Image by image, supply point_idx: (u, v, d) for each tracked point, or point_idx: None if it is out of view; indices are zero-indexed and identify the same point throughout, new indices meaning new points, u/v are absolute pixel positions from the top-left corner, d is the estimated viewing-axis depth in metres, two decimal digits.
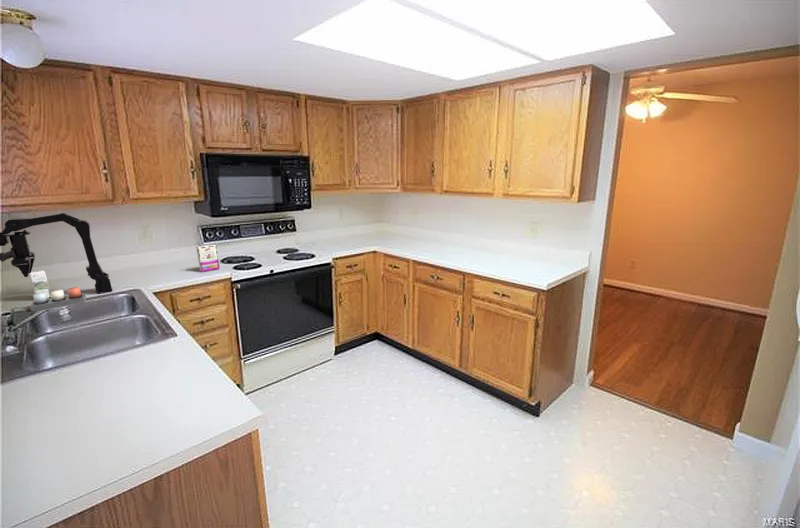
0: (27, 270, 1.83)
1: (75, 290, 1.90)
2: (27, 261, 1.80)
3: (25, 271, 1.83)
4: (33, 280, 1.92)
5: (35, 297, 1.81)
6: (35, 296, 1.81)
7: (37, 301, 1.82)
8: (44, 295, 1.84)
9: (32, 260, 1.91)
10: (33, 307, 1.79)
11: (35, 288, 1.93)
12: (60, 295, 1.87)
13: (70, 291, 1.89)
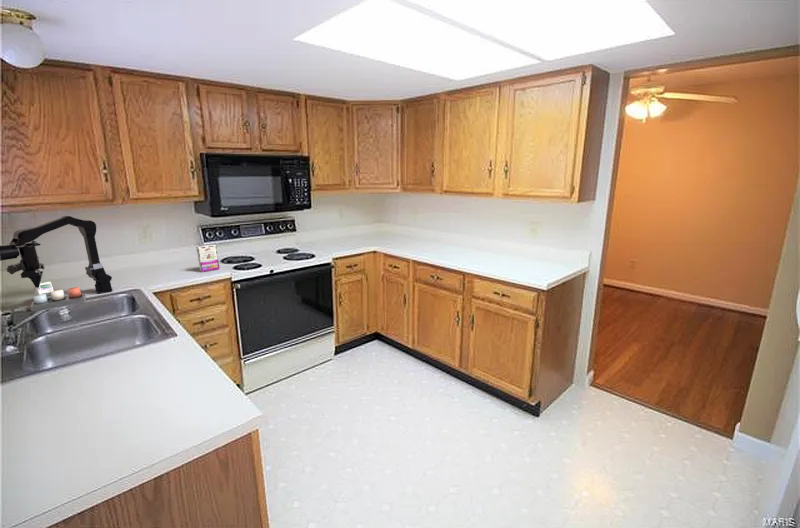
0: (38, 280, 1.81)
1: (75, 290, 1.90)
2: (37, 274, 1.75)
3: (36, 281, 1.81)
4: None
5: (35, 299, 1.82)
6: (35, 298, 1.81)
7: (37, 303, 1.82)
8: (44, 297, 1.84)
9: (40, 274, 1.83)
10: (33, 307, 1.79)
11: None
12: (60, 295, 1.87)
13: (70, 291, 1.89)
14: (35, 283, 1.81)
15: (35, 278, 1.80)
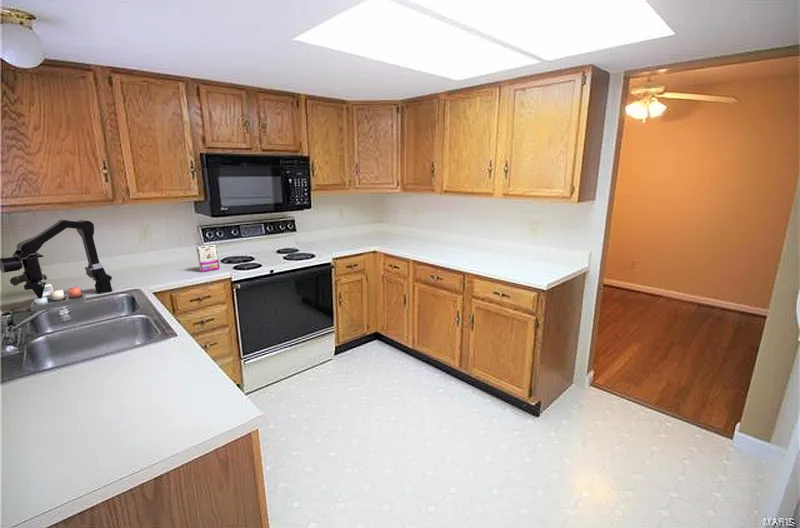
0: (41, 292, 1.83)
1: (75, 290, 1.90)
2: (40, 285, 1.76)
3: (39, 293, 1.82)
4: None
5: (36, 302, 1.82)
6: (36, 301, 1.82)
7: None
8: (45, 299, 1.84)
9: None
10: (33, 307, 1.79)
11: None
12: (60, 295, 1.87)
13: (70, 291, 1.89)
14: (38, 294, 1.82)
15: (38, 289, 1.82)
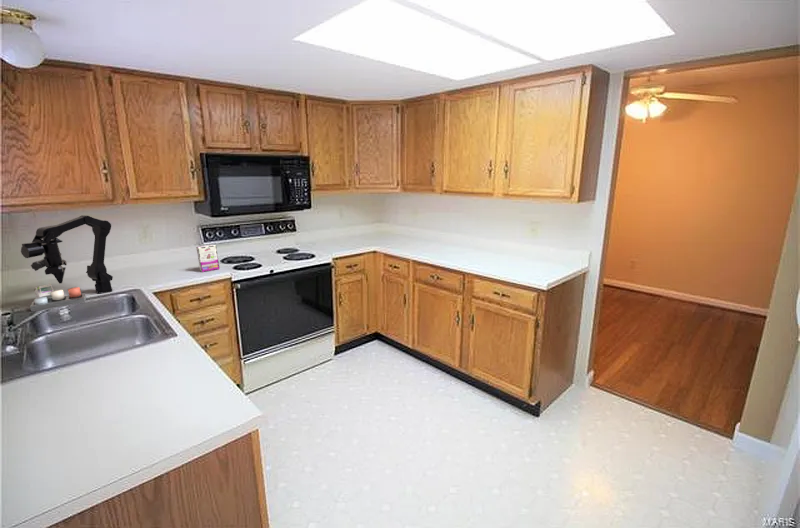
0: (61, 276, 1.86)
1: (75, 290, 1.90)
2: (60, 270, 1.80)
3: (59, 277, 1.86)
4: None
5: (36, 302, 1.82)
6: (36, 301, 1.82)
7: None
8: (45, 300, 1.84)
9: None
10: (33, 307, 1.79)
11: None
12: (60, 295, 1.87)
13: (70, 291, 1.89)
14: (58, 279, 1.86)
15: (58, 274, 1.85)
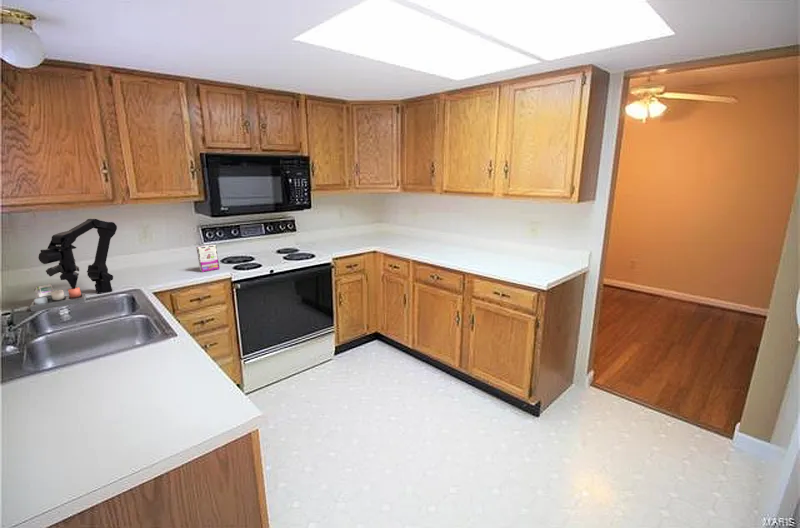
0: (75, 282, 1.90)
1: (75, 290, 1.90)
2: (75, 276, 1.83)
3: (73, 283, 1.89)
4: None
5: (36, 302, 1.82)
6: (36, 301, 1.82)
7: None
8: (45, 300, 1.84)
9: None
10: (33, 307, 1.79)
11: None
12: (60, 295, 1.87)
13: (70, 291, 1.89)
14: (72, 285, 1.89)
15: (72, 280, 1.89)
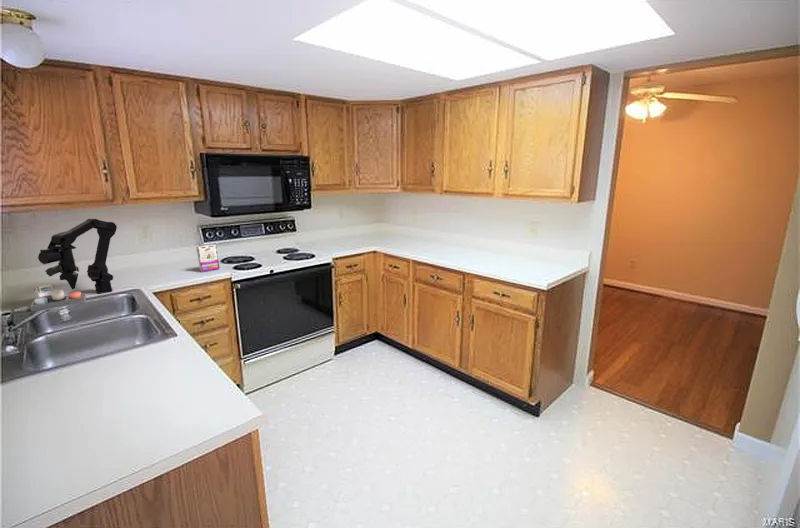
0: (74, 282, 1.90)
1: (76, 294, 1.90)
2: (75, 276, 1.83)
3: (73, 283, 1.89)
4: None
5: (36, 302, 1.82)
6: (36, 301, 1.82)
7: None
8: (45, 300, 1.84)
9: (76, 276, 1.91)
10: (33, 307, 1.79)
11: None
12: (60, 295, 1.87)
13: (71, 295, 1.89)
14: (71, 285, 1.89)
15: (71, 280, 1.89)
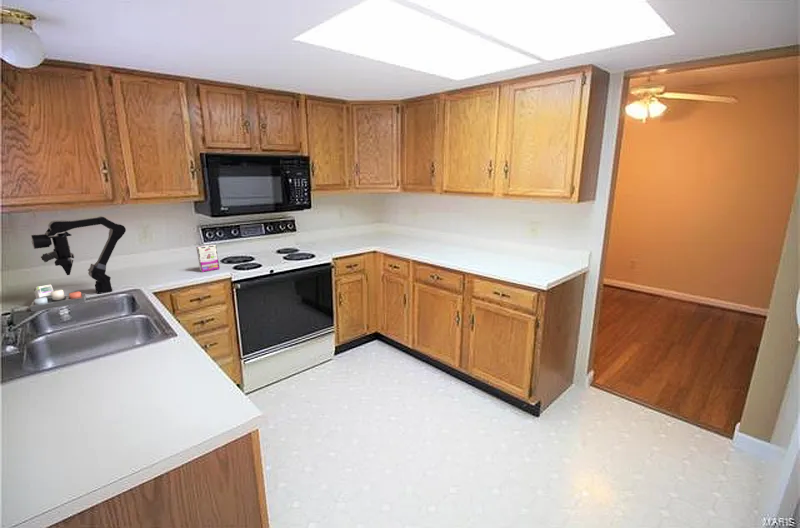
0: (69, 268, 1.94)
1: (76, 294, 1.90)
2: (69, 262, 1.87)
3: (68, 269, 1.93)
4: None
5: (36, 302, 1.82)
6: (36, 301, 1.82)
7: None
8: (45, 300, 1.84)
9: (71, 262, 1.95)
10: (33, 307, 1.79)
11: None
12: (60, 295, 1.87)
13: (71, 295, 1.89)
14: (66, 271, 1.93)
15: (66, 266, 1.93)
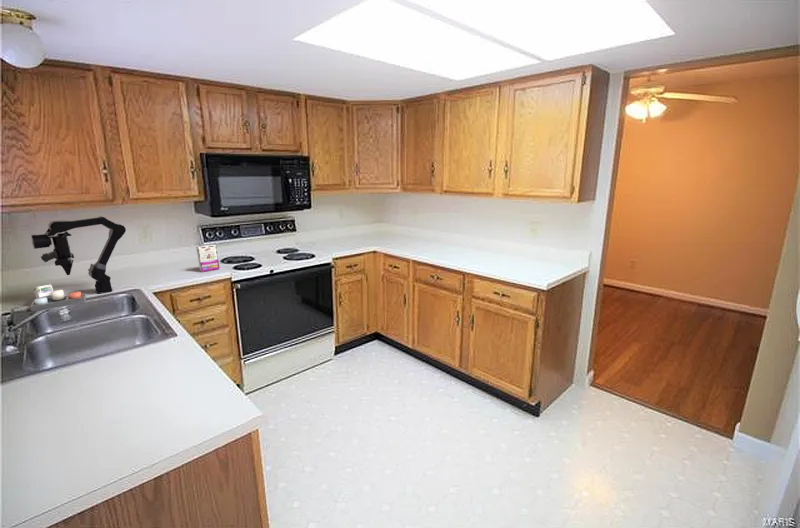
0: (69, 268, 1.94)
1: (76, 294, 1.90)
2: (69, 262, 1.87)
3: (68, 269, 1.93)
4: None
5: (36, 302, 1.82)
6: (36, 301, 1.82)
7: None
8: (45, 300, 1.84)
9: (71, 262, 1.95)
10: (33, 307, 1.79)
11: None
12: (60, 295, 1.87)
13: (71, 295, 1.89)
14: (66, 271, 1.93)
15: (66, 266, 1.93)
